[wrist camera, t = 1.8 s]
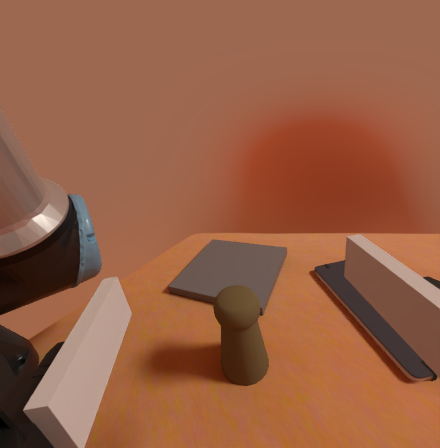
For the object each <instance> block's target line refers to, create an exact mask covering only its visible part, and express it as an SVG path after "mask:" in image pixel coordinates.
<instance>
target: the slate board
mask: <svg viewBox="0 0 440 448" xmlns="http://www.w3.org/2000/svg"><path fill="white" fill-rule="evenodd" d="M286 255H287V248H285V247H276V246H267V245H258V244H249V243H240V242H230V241H221V240H212V241H211V242H210V243H209V244H208V245H207V246H206V247H205V248H204V249H203V250H202V251H201V252H200V253H199V254H198V255H197V256H196V258H195V259H194V260H193V261H192V262H191V263H190V264H189V265H188V266H187V267H186V268H185V269H184V270H183V271H182V272H181V273H180V275H179V276H178V277H177V278H176V279H175V280H174V281H173V282H172V283H171V284H170V285H169V286H168V287H169V290H170V293H174V294H178V295H182V296H186V297H190V298H194V299H198V300H202V301H206V302H210V303H214V301H215V298H216V296H217V295H218V294H219V292H220V291H221V290H223V289H224V288H226V287H229V286H233V285H242V286H246V287H248V288H250V289H251V290H252V291H253V292H254V293H255V294H256V295H257V297H258V300H259V302H260V314H259V315H263V314H264V311H265V309H266V306H267V304H268V301H269V298H270V296H271V293H272V291H273V288H274V286H275V283H276V281H277V278H278V276H279V273H280V270H281V268H282V265H283V263H284V260H285V258H286Z"/></svg>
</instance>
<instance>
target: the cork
mask: <svg viewBox="0 0 440 448" xmlns="http://www.w3.org/2000/svg"><path fill="white" fill-rule="evenodd" d="M213 308H214V314H215V317H216V319H217V321H218V322H219V324H220V325H221V362H222V370H223V372H224V374H225V376H226V377H227V378H228V379H229V380H230V381H231V382H233V383H235V384H238V385H244V386H248V385H252V384H255V383H257V382H259V381H260V380H262V378H263V377H264V376H265V375H266V373H267V370H268V367H269V360H268V356H267V353H266V349H265V346H264V342H263V339H262V335H261V332H260V328H259V325H258V321H257V320H258V317H259V314H260V302H259V300H258V297H257V295H256V294H255V293H254V292H253V291H252V290H251V289H250V288H248V287H246V286H242V285H233V286H229V287H226V288H224V289H223V290H221V291H220V292H219V294H218V295H217V296H216V298H215V301H214V307H213Z"/></svg>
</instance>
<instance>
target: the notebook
mask: <svg viewBox="0 0 440 448" xmlns="http://www.w3.org/2000/svg"><path fill="white" fill-rule="evenodd" d="M315 271H316V275H317V276H318V277H319V279H320V280H321V281H322V282H323V283H324V284H325V285H326V286H327V288H328V289H329V290H330V291H331V292H332V293H333V294H334V296H335V297H336V298H337V299H338V300H339V301H340V302H341V303H342V305H343V306H344V307H345V308H346V309H347V310H348V311H349V312H350V314H351V315H352V316H353V317H354V318H355V319H356V320H357V321H358V323H359V324H360V325H361V326H362V327H363V328H364V329H365V330H366V332H367V333H368V334H369V335H370V336H371V337H372V338H373V339H374V341H375V342H376V343H377V344H378V345H379V346H380V347H381V349H382V350H383V351H384V352H385V353H386V354H387V355H388V356H389V358H390V359H391V360H392V361H393V362H394V363H395V364H396V365H397V367H398V368H399V369H400V370H401V371H402V372H403V373H404V374H405V375H406V376H407V377H408V378H409V379H411V380H412V381H416V382H419V381H424V380H428V379H431V378H432V381H434V380H436V379H437V377H438V376H437V375H436V374H435V373H434V371H433V370H432V369H431V368H430V367H429V366H428V365H427V364H426V363H425V362H424V361H423V360H422V359H421V358H420V357H419V356H418V354H417V353H416V352H415V351H414V350H413V349H412V348H411V347H410V346H409V345H408V344H407V343H406V342H405V341H404V340H403V338H402V337H401V336H400V335H399V334H398V333H397V332H396V331H395V330H394V329H393V328H392V327H391V326H390V325H389V324H388V323H387V321H386V320H385V319H384V318H383V317H382V316H381V315H380V314H379V313H378V312H377V311H376V310H375V309H374V308H373V307H372V305H371V304H370V303H369V302H368V301H367V300H366V299H365V298H364V297H363V296H362V295H361V294H360V293H359V292H358V291H357V290H356V288H355V287H354V286H353V285H352V284H351V283H350V282H349V281H348V280H347V279H346V278H345V277H344V271H345V260H344V261H339V262H335V263H330V264H325V265H321V266H317V267H315Z"/></svg>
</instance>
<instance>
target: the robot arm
mask: <svg viewBox="0 0 440 448" xmlns="http://www.w3.org/2000/svg"><path fill="white" fill-rule="evenodd" d="M101 266H102V263H101V256H100V251H99V247H98V243H97V240H96V237H95V233H94V229H93V225H92V221H91V219H90V215H89V212H88V209H87V206H86V204H85V201H84V199H83V198H82V196H80V195H77V194H74V195H72V194H68V195H67V194H66V192H65V191H64V190H63V189H62V187H61V186H60V185H58V184H57V183H55V182H53V181H51V180H49V179H46V178H43V177H39V175H38V173H37V171H36V170H35V168H34V166H33V164H32V162H31V160H30V159H29V157H28V155H27V153H26V152H25V150H24V148H23V146H22V144H21V143H20V141H19V139H18V137H17V135H16V134H15V132H14V130H13V128H12V127H11V125H10V123H9V121H8V119H7V118H6V116H5V114H4V112H3V110H2V109H1V107H0V315H2V314H5V313H7V312H10V311H12V310H15V309H17V308H20V307H22V306H25V305H27V304H30V303H33V302H35V301H38V300H40V299H43V298H46V297H48V296H51V295H53V294H56V293H58V292H61V291H64V290H66V289H69V288H74V287H76V286H78V285H79V284H80V283H82V282H84V281H87V280H89V279H91V278H93V277H95V276H96V275H97V274H98V273H99V272H100V270H101ZM344 277H345V278H346V279H347V280H348V281H349V282H350V283H351V284H352V285H353V286H354V287H355V288H356V290H357V291H358V292H359V293H360V294H361V295H362V296H363V297H364V298H365V299H366V300H367V301H368V302H369V303H370V304H371V305H372V307H373V308H374V309H375V310H376V311H377V312H378V313H379V314H380V315H381V316H382V317H383V318H384V319H385V320H386V321H387V323H388V324H389V325H390V326H391V327H392V328H393V329H394V330H395V331H396V332H397V333H398V334H399V335H400V336H401V337H402V338H403V340H404V341H405V342H406V343H407V344H408V345H409V346H410V347H411V348H412V349H413V350H414V351H415V352H416V353H417V354H418V356H419V357H420V358H421V359H422V360H423V361H424V362H425V363H426V364H427V365H428V366H429V367H430V368H431V369H432V370H433V371H434V373H435V374H436V375H437V376H438V377H439V378H440V281H438V280H435V279H433V278H431V277H423V278H422V277H421V276H419V275H418V274H417V273H415V272H414V271H412V270H411V269H409V268H408V267H406V266H405V265H404V264H402V263H401V262H399V261H398V260H396V259H395V258H394V257H392V256H391V255H389V254H388V253H386V252H385V251H383V250H382V249H381V248H379V247H378V246H376V245H375V244H373V243H372V242H371V241H369V240H368V239H366V238H365V237H363V236H362V235H360V234H358V235H353V236H347V241H346V256H345V271H344ZM131 315H132V313H131V310H130V308H129V305H128V303H127V300H126V298H125V295H124V293H123V290H122V288H121V285H120V283H119V280H118V278H117V277H112V278H107V279H103V281H102V282H101V284H100V286H99V287H98V289H97V291H96V292H95V294H94V295H93V297H92V299H91V300H90V302H89V303H88V305H87V307H86V308H85V310H84V312H83V313H82V315H81V316H80V318H79V320H78V321H77V323H76V325H75V326H74V328H73V329H72V331H71V333H70V334H69V336H68V338H67V339H66V341H65V342H60V343H57V344H56V345H55V346H54V347H53V348H52V349H51V350H50V351H49V352H48V353H47V354H46V355H45V357H44V358H43V360H42V361H41V363H40V364H39V356H38V353H37V351H36V350H35V348H34V347H33V345H32V344H31V343H30V342H29V341H28V340H27V339H25V338H24V337H22V336H20V335H18V334H16V333H15V332H12V331H11V330H9V329H7V328H5V327H4V326H2V325H0V448H84V447H85V444H86V442H87V439H88V436H89V433H90V430H91V428H92V425H93V422H94V419H95V416H96V413H97V411H98V408H99V405H100V402H101V399H102V397H103V394H104V391H105V388H106V385H107V382H108V380H109V377H110V374H111V371H112V368H113V366H114V363H115V360H116V357H117V354H118V351H119V349H120V346H121V343H122V340H123V337H124V334H125V332H126V329H127V326H128V323H129V320H130V318H131ZM38 364H39V366H38Z"/></svg>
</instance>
